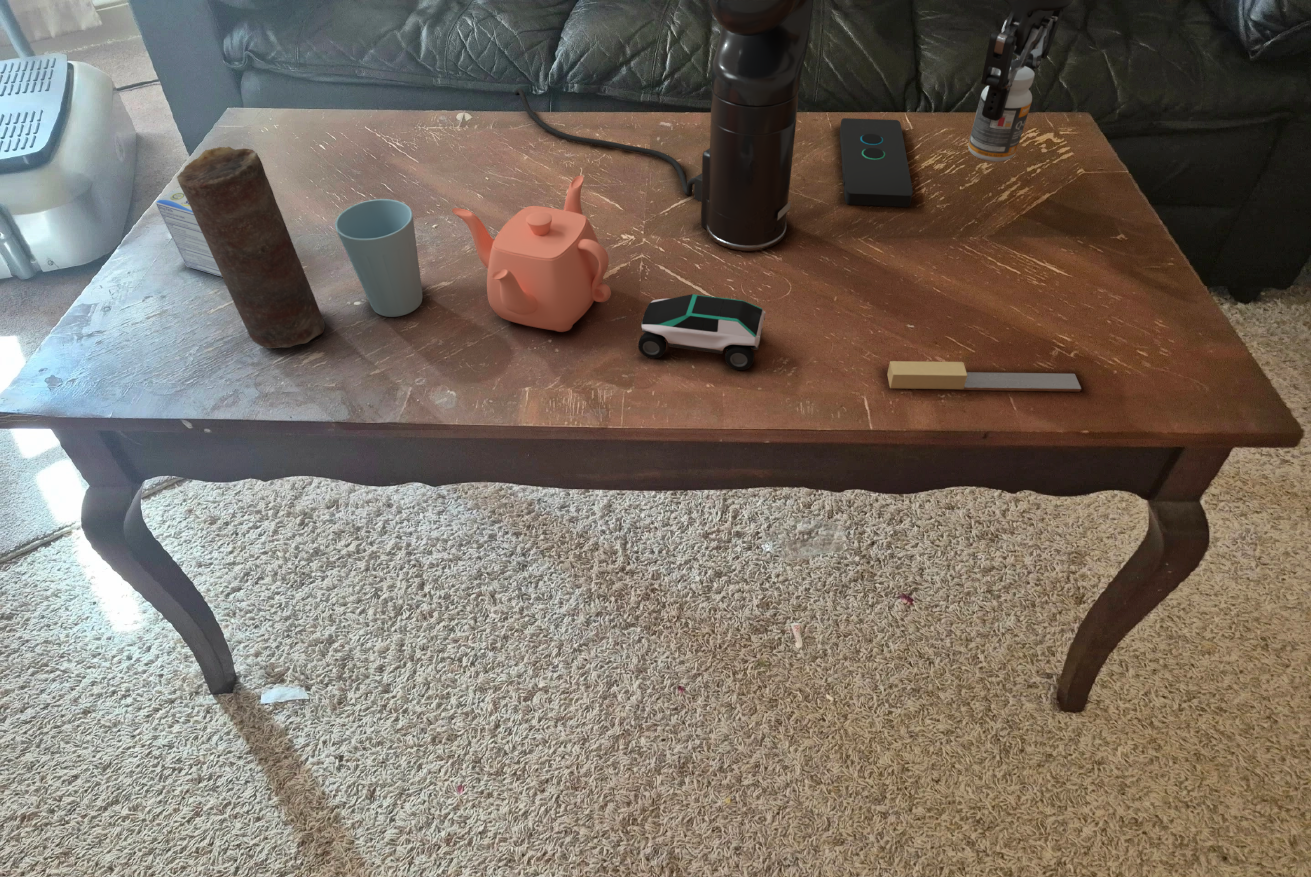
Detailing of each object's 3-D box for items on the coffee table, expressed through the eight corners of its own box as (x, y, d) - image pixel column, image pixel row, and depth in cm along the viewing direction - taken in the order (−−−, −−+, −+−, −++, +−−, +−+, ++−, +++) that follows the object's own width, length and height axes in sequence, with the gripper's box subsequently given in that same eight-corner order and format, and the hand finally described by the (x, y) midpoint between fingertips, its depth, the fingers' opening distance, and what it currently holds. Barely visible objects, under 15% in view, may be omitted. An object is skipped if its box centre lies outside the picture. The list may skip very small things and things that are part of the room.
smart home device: (901, 118, 120) (915, 194, 106) (898, 130, 121) (912, 207, 107) (839, 116, 121) (845, 191, 107) (838, 128, 122) (843, 204, 108)
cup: (403, 331, 92) (378, 246, 85) (346, 312, 95) (318, 228, 87) (446, 292, 97) (427, 208, 90) (391, 275, 100) (368, 192, 92)
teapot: (509, 364, 88) (492, 273, 80) (468, 289, 97) (449, 201, 90) (640, 324, 92) (635, 233, 85) (588, 255, 102) (580, 168, 94)
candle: (284, 367, 89) (208, 188, 74) (236, 343, 91) (153, 166, 77) (340, 326, 93) (278, 150, 79) (292, 304, 96) (224, 131, 82)
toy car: (755, 373, 87) (759, 330, 83) (637, 357, 89) (636, 315, 85) (764, 336, 91) (767, 294, 87) (651, 321, 93) (650, 279, 89)
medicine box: (264, 263, 102) (237, 196, 95) (237, 284, 99) (207, 216, 93) (213, 247, 104) (184, 181, 98) (185, 268, 101) (152, 201, 95)
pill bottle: (1017, 165, 105) (1043, 83, 98) (967, 161, 106) (990, 80, 99) (1012, 143, 109) (1037, 62, 102) (965, 139, 110) (986, 59, 102)
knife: (890, 389, 85) (893, 375, 83) (886, 374, 86) (890, 360, 85) (1080, 391, 84) (1086, 377, 83) (1073, 376, 85) (1079, 362, 84)
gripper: (1054, -22, 86) (1005, 140, 98) (1111, -58, 93) (1060, 96, 105) (983, -38, 89) (945, 120, 101) (1044, -73, 97) (1001, 79, 109)
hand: (1003, 107), depth 103 cm, fingers closed on pill bottle, 5 cm apart
